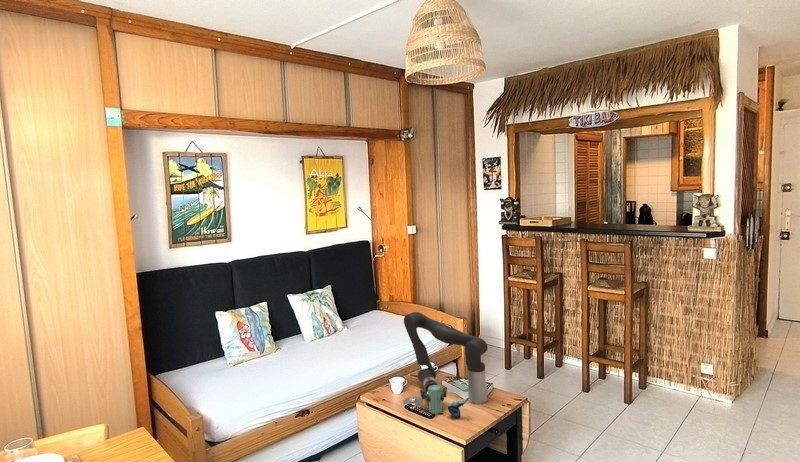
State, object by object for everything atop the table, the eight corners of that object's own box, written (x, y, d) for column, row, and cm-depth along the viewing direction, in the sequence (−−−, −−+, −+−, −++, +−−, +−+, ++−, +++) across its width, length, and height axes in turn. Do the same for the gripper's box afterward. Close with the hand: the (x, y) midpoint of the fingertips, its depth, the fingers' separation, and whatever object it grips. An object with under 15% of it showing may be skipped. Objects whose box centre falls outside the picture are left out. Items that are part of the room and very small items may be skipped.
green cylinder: (440, 408, 252) (439, 384, 251) (442, 414, 246) (441, 389, 244) (428, 409, 251) (427, 385, 250) (430, 415, 245) (429, 390, 244)
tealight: (416, 399, 263) (416, 395, 263) (417, 402, 259) (417, 398, 259) (409, 400, 262) (409, 396, 262) (410, 403, 258) (409, 399, 258)
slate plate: (422, 397, 267) (422, 396, 266) (424, 406, 256) (424, 405, 256) (402, 398, 266) (402, 397, 266) (404, 407, 255) (404, 406, 255)
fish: (467, 420, 238) (467, 400, 237) (447, 419, 240) (446, 399, 239) (468, 416, 242) (467, 396, 242) (448, 415, 244) (447, 395, 244)
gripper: (417, 380, 261) (421, 393, 244) (443, 378, 262) (449, 391, 246) (418, 394, 262) (422, 408, 245) (444, 392, 263) (450, 405, 246)
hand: (435, 399), depth 245 cm, fingers closed on green cylinder, 6 cm apart
